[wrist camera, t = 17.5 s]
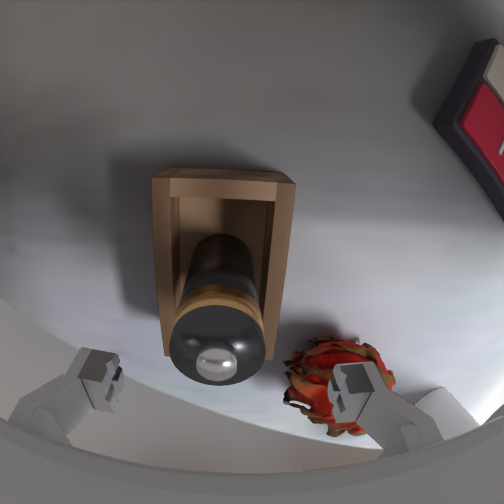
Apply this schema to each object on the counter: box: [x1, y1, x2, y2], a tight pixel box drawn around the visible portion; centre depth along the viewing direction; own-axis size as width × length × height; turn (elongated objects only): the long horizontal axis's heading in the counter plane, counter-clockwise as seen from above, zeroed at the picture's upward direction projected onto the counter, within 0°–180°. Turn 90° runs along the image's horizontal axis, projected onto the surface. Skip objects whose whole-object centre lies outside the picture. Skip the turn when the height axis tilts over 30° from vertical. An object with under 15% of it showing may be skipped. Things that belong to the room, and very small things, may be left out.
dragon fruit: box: [283, 337, 396, 437], centre depth 23 cm, size 8×8×12 cm
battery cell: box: [169, 234, 266, 386], centre depth 16 cm, size 4×4×10 cm
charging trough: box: [152, 168, 296, 360], centre depth 19 cm, size 8×12×4 cm, turn 176°
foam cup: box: [414, 388, 480, 440], centre depth 26 cm, size 10×9×13 cm
